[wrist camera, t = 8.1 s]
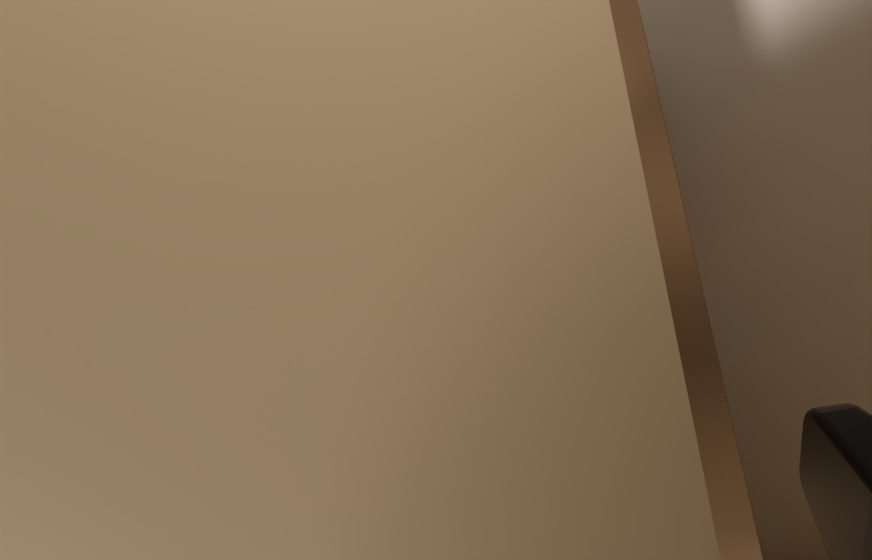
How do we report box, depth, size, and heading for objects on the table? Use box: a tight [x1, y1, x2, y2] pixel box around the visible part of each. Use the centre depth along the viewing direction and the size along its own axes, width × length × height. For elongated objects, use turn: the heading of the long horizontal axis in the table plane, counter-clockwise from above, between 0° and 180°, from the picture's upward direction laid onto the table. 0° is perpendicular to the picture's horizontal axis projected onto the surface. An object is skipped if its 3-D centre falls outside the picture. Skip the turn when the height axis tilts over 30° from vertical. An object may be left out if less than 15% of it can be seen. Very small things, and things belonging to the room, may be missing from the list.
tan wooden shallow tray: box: [609, 0, 763, 560], centre depth 16 cm, size 16×11×3 cm
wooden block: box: [0, 0, 721, 560], centre depth 10 cm, size 5×5×15 cm
